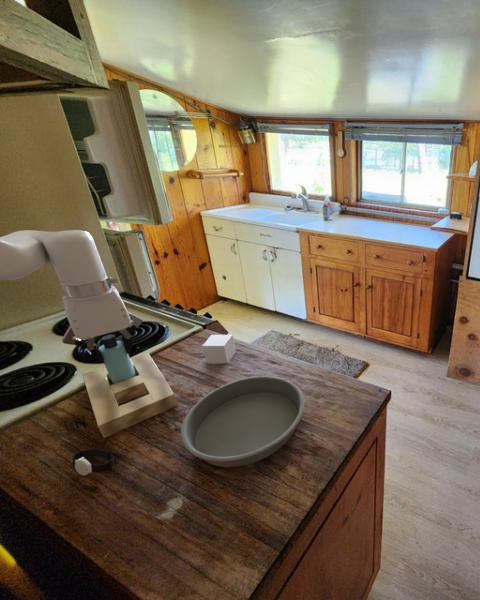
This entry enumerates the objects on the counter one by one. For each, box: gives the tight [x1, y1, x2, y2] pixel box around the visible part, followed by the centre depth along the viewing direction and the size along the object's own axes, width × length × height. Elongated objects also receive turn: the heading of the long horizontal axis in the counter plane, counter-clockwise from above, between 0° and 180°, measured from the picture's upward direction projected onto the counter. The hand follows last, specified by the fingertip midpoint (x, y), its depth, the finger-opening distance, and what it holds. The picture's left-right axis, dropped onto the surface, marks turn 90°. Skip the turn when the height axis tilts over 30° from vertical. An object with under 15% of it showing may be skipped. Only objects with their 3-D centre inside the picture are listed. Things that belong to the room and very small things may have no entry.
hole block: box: [82, 352, 179, 439], centre depth 80 cm, size 14×24×4 cm, turn 47°
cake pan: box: [180, 375, 306, 468], centre depth 72 cm, size 25×25×4 cm
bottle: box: [98, 334, 136, 384], centre depth 80 cm, size 5×5×14 cm
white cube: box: [201, 334, 237, 364], centre depth 95 cm, size 6×6×6 cm
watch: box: [71, 448, 115, 476], centre depth 62 cm, size 8×5×4 cm, turn 77°
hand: (115, 355), depth 79 cm, fingers closed on bottle, 4 cm apart
